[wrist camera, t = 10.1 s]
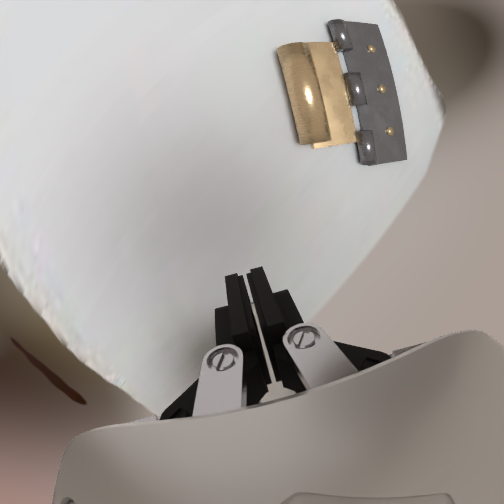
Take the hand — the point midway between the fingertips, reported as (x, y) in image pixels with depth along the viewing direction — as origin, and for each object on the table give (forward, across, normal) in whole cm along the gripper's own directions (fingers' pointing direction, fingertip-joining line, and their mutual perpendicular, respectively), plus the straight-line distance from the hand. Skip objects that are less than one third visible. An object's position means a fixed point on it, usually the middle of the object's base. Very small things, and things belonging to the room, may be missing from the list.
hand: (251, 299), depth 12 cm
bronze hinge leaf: (+27, -16, -11) cm, 33 cm away
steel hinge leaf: (+27, -26, -11) cm, 39 cm away
